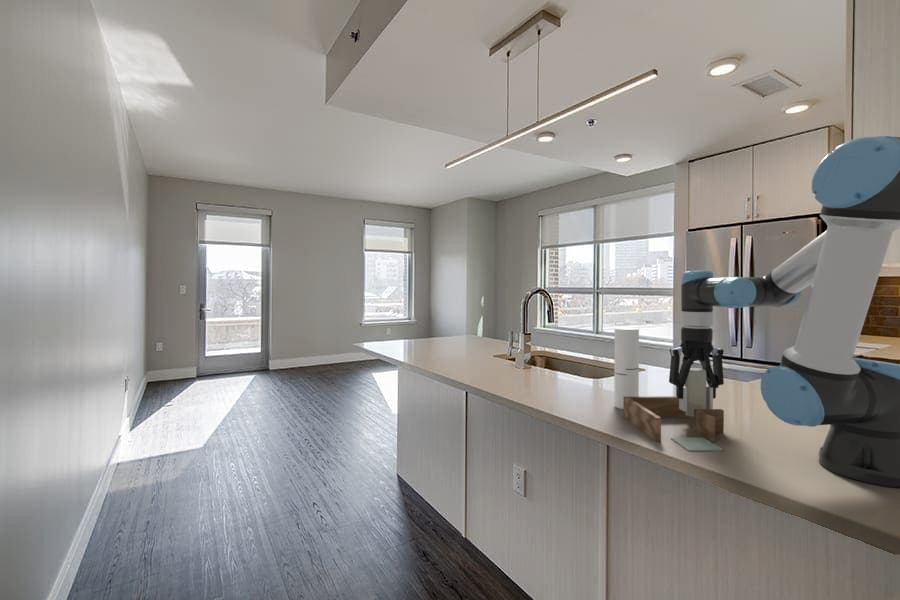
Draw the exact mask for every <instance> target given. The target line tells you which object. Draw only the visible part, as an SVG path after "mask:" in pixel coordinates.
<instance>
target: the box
mask: <svg viewBox="0 0 900 600" xmlns="http://www.w3.org/2000/svg"><path fill="white" fill-rule="evenodd" d="M706 386H707V380H706V369H703V368H698V367H697V368H696V367H691V368H690V371H689V374H688V377H687V379H686V382H685V385H684V387H686V388H687V411H685V415H687V416H694V409H707V394H706Z"/></svg>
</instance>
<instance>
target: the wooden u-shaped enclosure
mask: <svg viewBox="0 0 900 600" xmlns="http://www.w3.org/2000/svg"><path fill="white" fill-rule="evenodd" d="M724 416H725V411H724V409H721V408H713V409H694V416H687V415H685V411H682V410H681V409H679V398H677V396H676V395H675V396H674V395H672V396H671V395H668V396H663V395H662V396H639V397H624V409H623V418H624V419H625V420H627V421H629V423H631V424H632V425H634V426H635V428H637V429H638V430H640V431H642V433H644V434H645V435H647V436H648V437H649V438H650V439H652V440H653V441H654V442H656V443H661V442H662V419H686V418H687V419H689V418H690V419H693V432H694V433H695V434H697V435H698V436H700V438H705V439H706V440H708V441H710V442H711V443H714V442H716V434H725V433H724V432H725V431H724V430H725V429H724V428H725V427H724V426H725V425H724V424H725V422H724V420H725V419H724V418H725V417H724Z"/></svg>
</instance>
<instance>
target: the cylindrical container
mask: <svg viewBox="0 0 900 600" xmlns="http://www.w3.org/2000/svg"><path fill="white" fill-rule="evenodd" d="M639 356H640V328H639V327H638V328H636V327H614V369H613V371H614V378H613V379H614V391H613V392H614V399H613V400H614V402H613V403H614V407H615V408H618V409H621V410H624V397H640V395H639V394H640V393H639V391H640V389H639V386H640V385H639V382H640V381H639V380H640V379H639V378H640V377H639V376H640V373H639V371H640V365H639V364H640V362H639V361H640V357H639Z"/></svg>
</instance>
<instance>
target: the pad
mask: <svg viewBox="0 0 900 600" xmlns="http://www.w3.org/2000/svg"><path fill="white" fill-rule="evenodd" d="M670 439H671V440H672V441H673V442H675V443H676V444H677V445H679V446H681V447H682V448H683V449H685V450H686V451H688V452H724V449H723V448H721V447H720V446H718V445H716V444H715V443H714V442H710V441H708V440H706V439H705V438H703V437H670Z"/></svg>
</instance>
